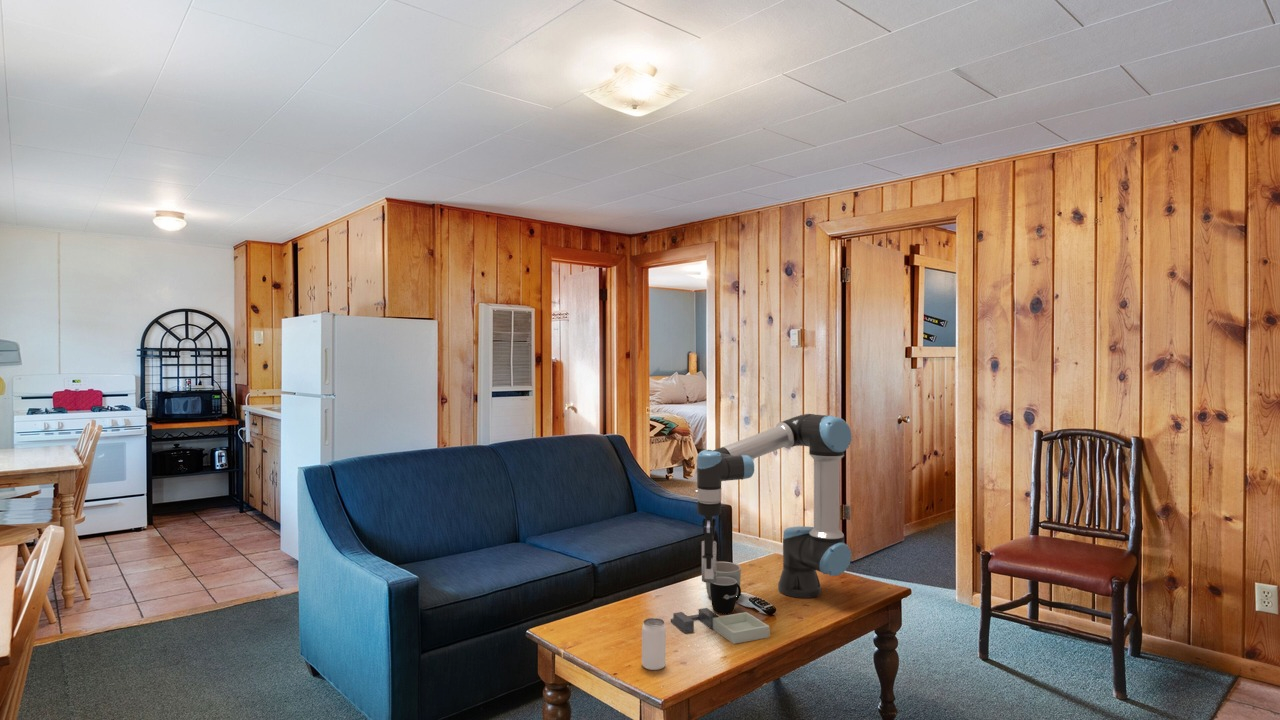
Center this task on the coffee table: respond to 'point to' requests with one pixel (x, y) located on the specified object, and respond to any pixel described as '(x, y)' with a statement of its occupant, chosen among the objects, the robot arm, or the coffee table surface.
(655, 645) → the can
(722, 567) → the planter
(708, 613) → the hitch clevis
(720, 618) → the tray
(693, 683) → the coffee table surface
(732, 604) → the mug
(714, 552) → the pin
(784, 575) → the robot arm
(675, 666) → the coffee table surface
